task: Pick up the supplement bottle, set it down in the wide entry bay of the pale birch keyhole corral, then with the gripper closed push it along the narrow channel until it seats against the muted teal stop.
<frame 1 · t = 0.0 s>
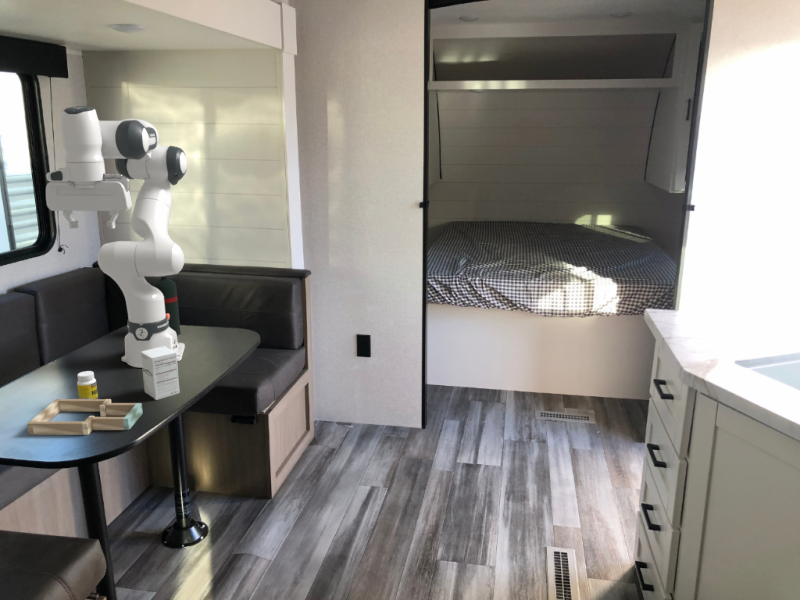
hand: (92, 228, 164), 48 cm above the table, fingers open, 8 cm apart
keyhole corral: (103, 421, 164), on the table
wine bottle: (166, 334, 233), on the table
supplement bottle: (89, 402, 176), on the table
supplement box: (162, 393, 182), on the table
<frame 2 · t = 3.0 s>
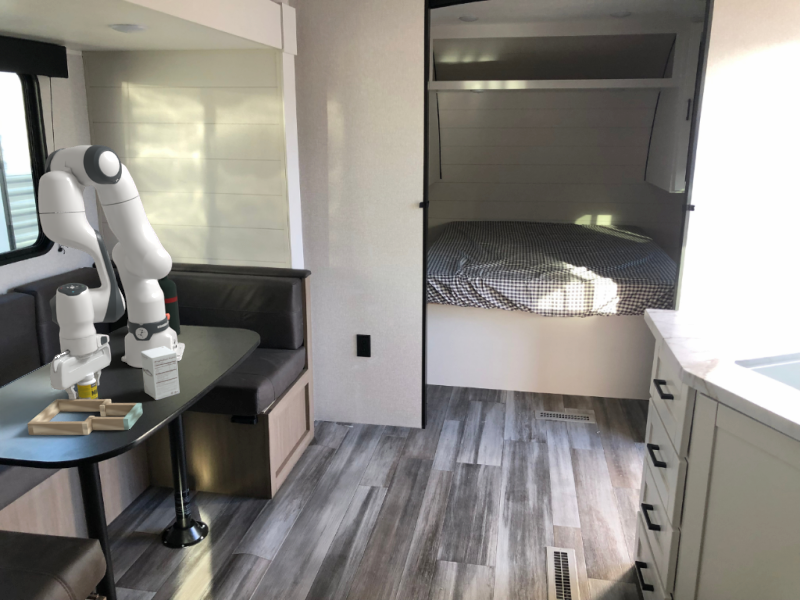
hand: (84, 392, 175), 3 cm above the table, fingers open, 7 cm apart
nothing on the table moved.
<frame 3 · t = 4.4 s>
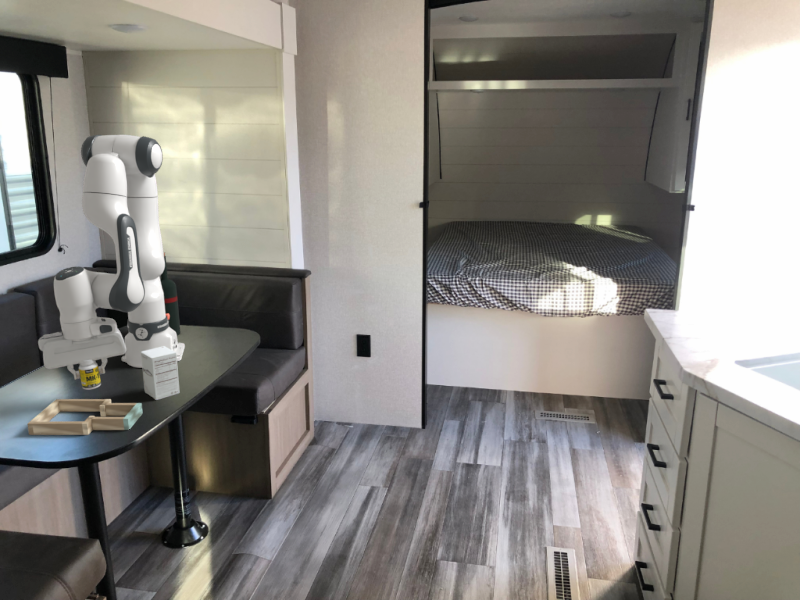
hand: (89, 375, 174), 7 cm above the table, fingers closed on supplement bottle, 5 cm apart
supplement bottle: (92, 386, 175), point 4 cm above the table, touching gripper
everything else where it was.
when the fingers open (4 cm above the table, at t = 8.0 s): supplement bottle stays where it is, resting in keyhole corral.
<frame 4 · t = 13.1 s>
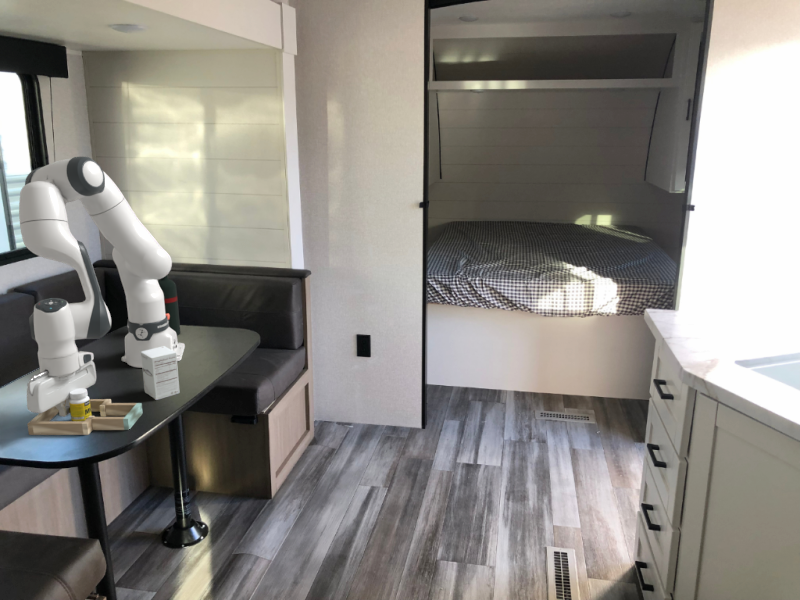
hand: (66, 414, 164), 2 cm above the table, fingers closed
supplement bottle: (82, 422, 164), resting in keyhole corral, touching gripper
everything else where it was.
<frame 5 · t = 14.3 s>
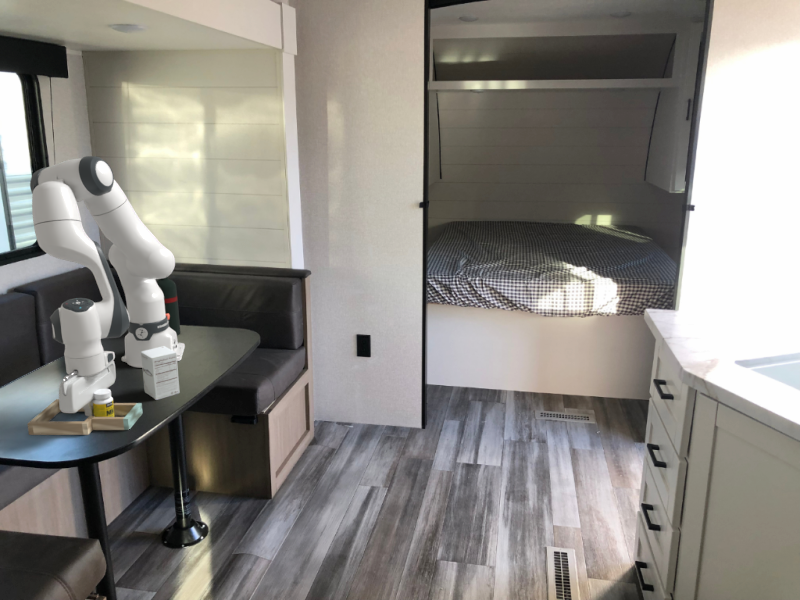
hand: (91, 413, 164), 2 cm above the table, fingers closed, pressing on supplement bottle
supplement bottle: (104, 422, 164), resting in keyhole corral, touching gripper
everything else where it was.
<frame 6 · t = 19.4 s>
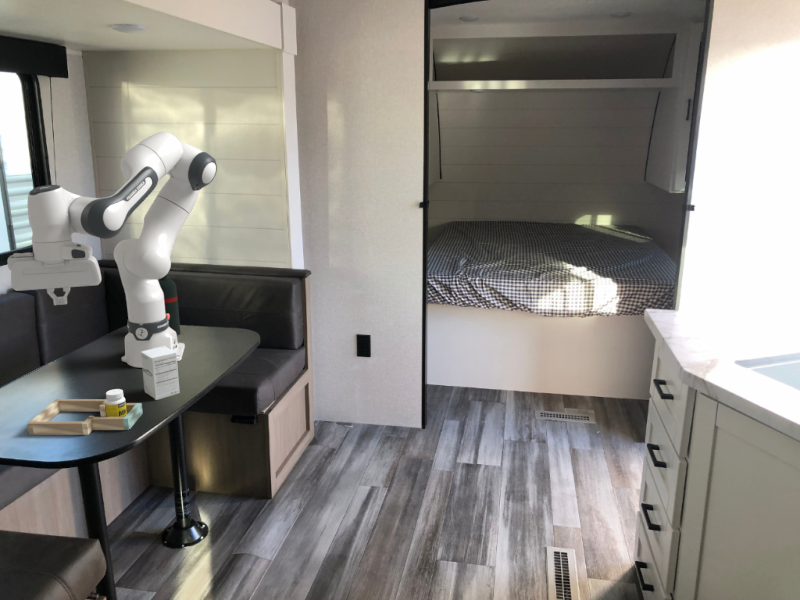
hand: (60, 304, 164), 29 cm above the table, fingers closed
supplement bottle: (117, 422, 164), resting in keyhole corral
everything else where it was.
at the end: supplement bottle 0.9 cm from the target spot on the keyhole corral, point 0.0 cm above the keyhole corral's base; supplement bottle tilted 0°; the gripper is holding nothing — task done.
